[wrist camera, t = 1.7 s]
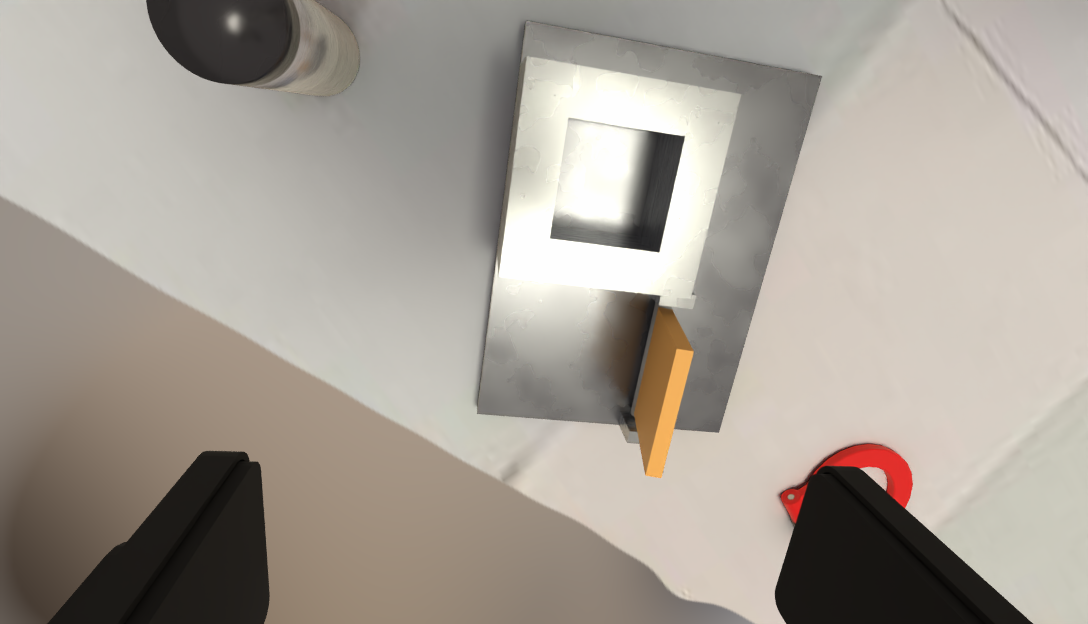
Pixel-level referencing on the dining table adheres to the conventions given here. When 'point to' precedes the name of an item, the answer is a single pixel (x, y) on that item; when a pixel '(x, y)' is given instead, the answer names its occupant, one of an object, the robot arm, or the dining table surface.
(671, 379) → the tab
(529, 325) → the plate
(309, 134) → the dining table surface
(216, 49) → the pin
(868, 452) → the tow hook
